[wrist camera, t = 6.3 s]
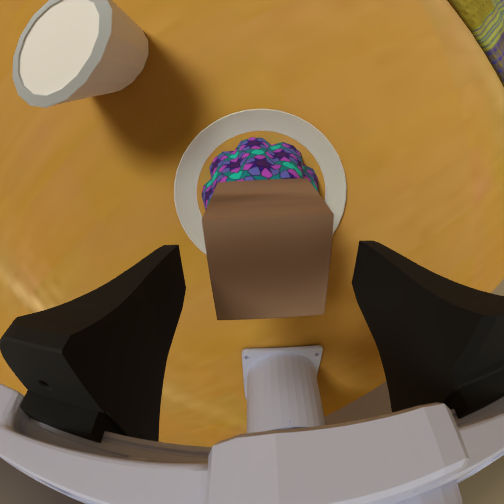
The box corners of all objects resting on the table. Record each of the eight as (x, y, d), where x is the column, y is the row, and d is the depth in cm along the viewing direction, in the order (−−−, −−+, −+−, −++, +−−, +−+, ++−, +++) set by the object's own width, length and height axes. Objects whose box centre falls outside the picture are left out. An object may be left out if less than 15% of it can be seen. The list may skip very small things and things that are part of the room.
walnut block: (305, 255, 16) (323, 314, 11) (226, 259, 16) (217, 320, 12) (307, 178, 14) (334, 214, 9) (217, 182, 14) (201, 220, 9)
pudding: (373, 170, 18) (408, 191, 14) (284, 289, 23) (292, 334, 19) (228, 77, 15) (220, 65, 11) (152, 223, 20) (127, 258, 16)
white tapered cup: (148, 1, 12) (104, -36, 6) (167, 79, 15) (123, 67, 9) (68, 42, 12) (7, 33, 6) (84, 117, 16) (21, 130, 10)
